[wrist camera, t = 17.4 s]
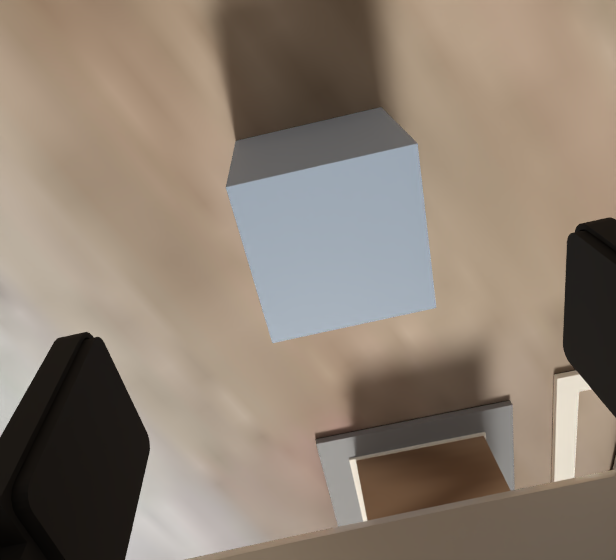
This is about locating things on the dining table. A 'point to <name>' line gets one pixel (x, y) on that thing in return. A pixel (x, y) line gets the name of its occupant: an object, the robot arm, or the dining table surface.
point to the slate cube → (333, 223)
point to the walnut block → (429, 477)
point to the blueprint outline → (565, 423)
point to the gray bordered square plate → (407, 436)
